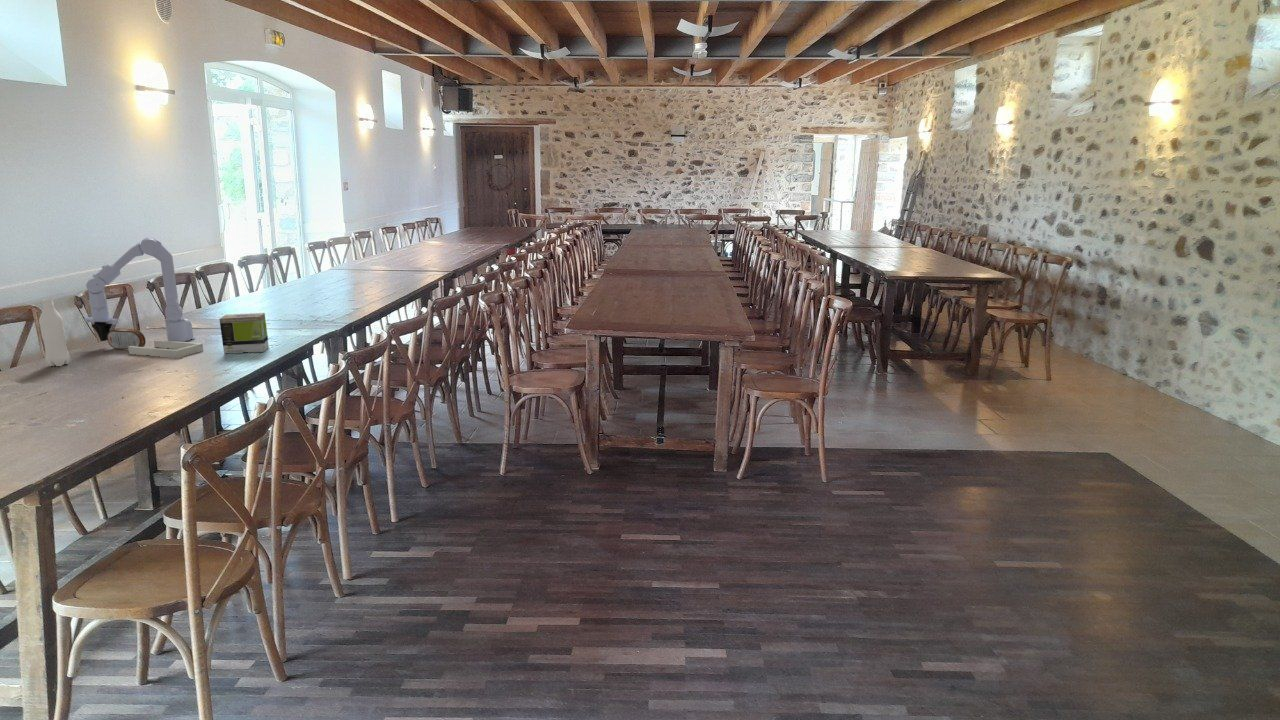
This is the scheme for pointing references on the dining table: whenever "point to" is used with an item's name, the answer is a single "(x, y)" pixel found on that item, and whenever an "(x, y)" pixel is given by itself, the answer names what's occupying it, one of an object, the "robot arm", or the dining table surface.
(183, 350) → the box
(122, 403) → the dining table surface
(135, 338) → the tin
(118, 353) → the dining table surface
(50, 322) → the water bottle
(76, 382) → the dining table surface
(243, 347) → the tea box
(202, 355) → the dining table surface
